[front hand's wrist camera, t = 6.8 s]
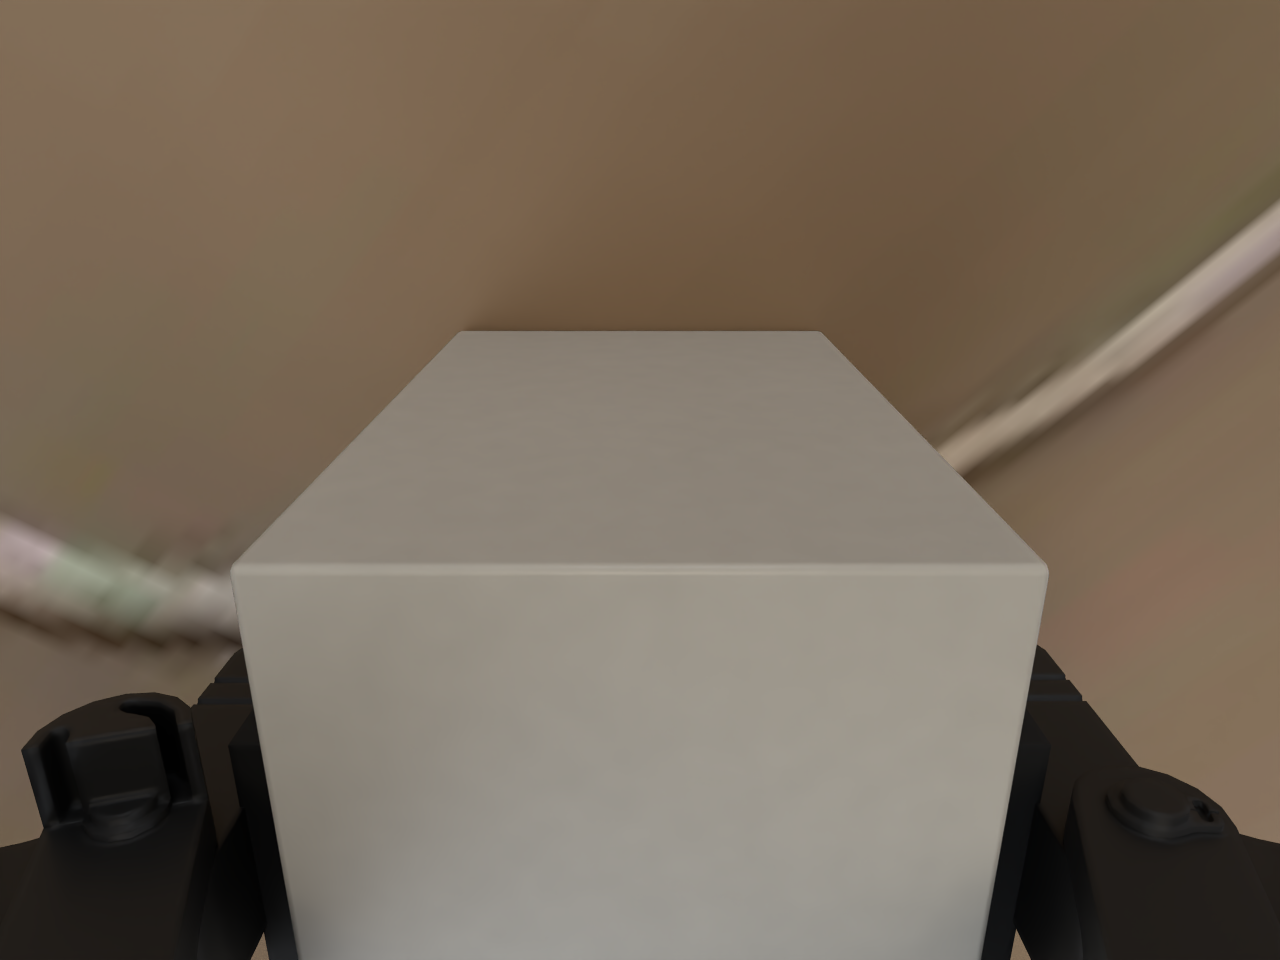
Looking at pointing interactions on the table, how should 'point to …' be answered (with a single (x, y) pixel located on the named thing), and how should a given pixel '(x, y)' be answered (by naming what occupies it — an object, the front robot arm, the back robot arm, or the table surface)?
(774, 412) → the brick
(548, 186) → the table surface
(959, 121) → the table surface
